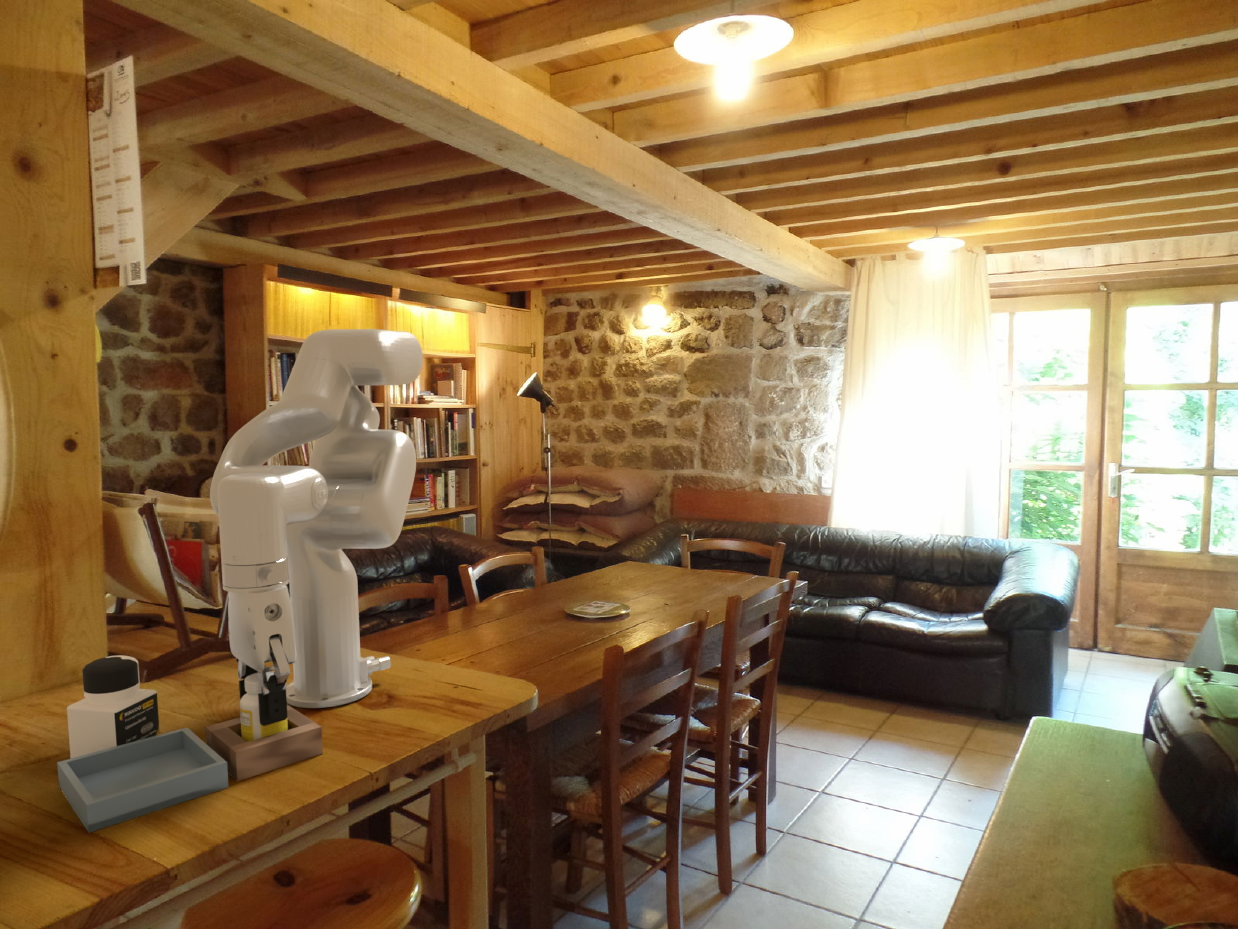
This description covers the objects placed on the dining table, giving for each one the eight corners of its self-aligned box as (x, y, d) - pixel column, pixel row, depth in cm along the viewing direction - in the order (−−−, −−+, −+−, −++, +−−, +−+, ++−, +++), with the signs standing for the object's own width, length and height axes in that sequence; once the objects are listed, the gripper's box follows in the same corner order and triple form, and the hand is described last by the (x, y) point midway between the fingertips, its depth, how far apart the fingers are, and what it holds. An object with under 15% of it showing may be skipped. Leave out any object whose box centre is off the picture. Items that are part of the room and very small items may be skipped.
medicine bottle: (119, 767, 103) (112, 671, 102) (69, 762, 105) (62, 667, 103) (161, 742, 110) (155, 652, 109) (114, 738, 111) (108, 649, 110)
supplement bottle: (295, 742, 110) (291, 669, 108) (279, 761, 104) (275, 684, 103) (252, 742, 109) (248, 669, 108) (235, 762, 104) (230, 685, 103)
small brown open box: (288, 729, 114) (287, 704, 113) (322, 753, 106) (321, 726, 106) (206, 753, 106) (205, 726, 106) (237, 781, 99) (235, 752, 99)
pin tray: (188, 750, 108) (186, 727, 107) (228, 787, 98) (227, 762, 97) (58, 787, 98) (57, 762, 98) (88, 833, 88) (86, 805, 88)
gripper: (315, 580, 101) (322, 726, 103) (259, 558, 113) (266, 689, 115) (251, 592, 95) (260, 745, 97) (199, 567, 108) (208, 704, 110)
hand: (263, 713), depth 106 cm, fingers closed on supplement bottle, 5 cm apart
